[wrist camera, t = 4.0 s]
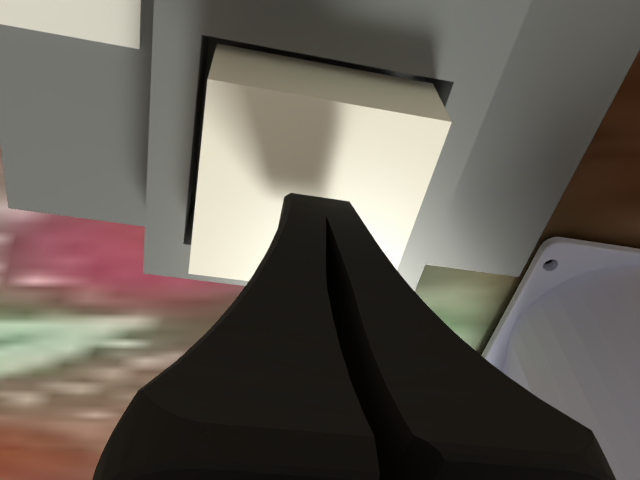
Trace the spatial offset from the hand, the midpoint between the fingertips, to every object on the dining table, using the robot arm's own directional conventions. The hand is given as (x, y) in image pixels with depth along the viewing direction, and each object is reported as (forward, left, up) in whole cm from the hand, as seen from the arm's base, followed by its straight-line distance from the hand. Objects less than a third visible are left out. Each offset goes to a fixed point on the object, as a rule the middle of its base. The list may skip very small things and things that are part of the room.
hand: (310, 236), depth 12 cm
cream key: (0, 0, -3) cm, 3 cm away
